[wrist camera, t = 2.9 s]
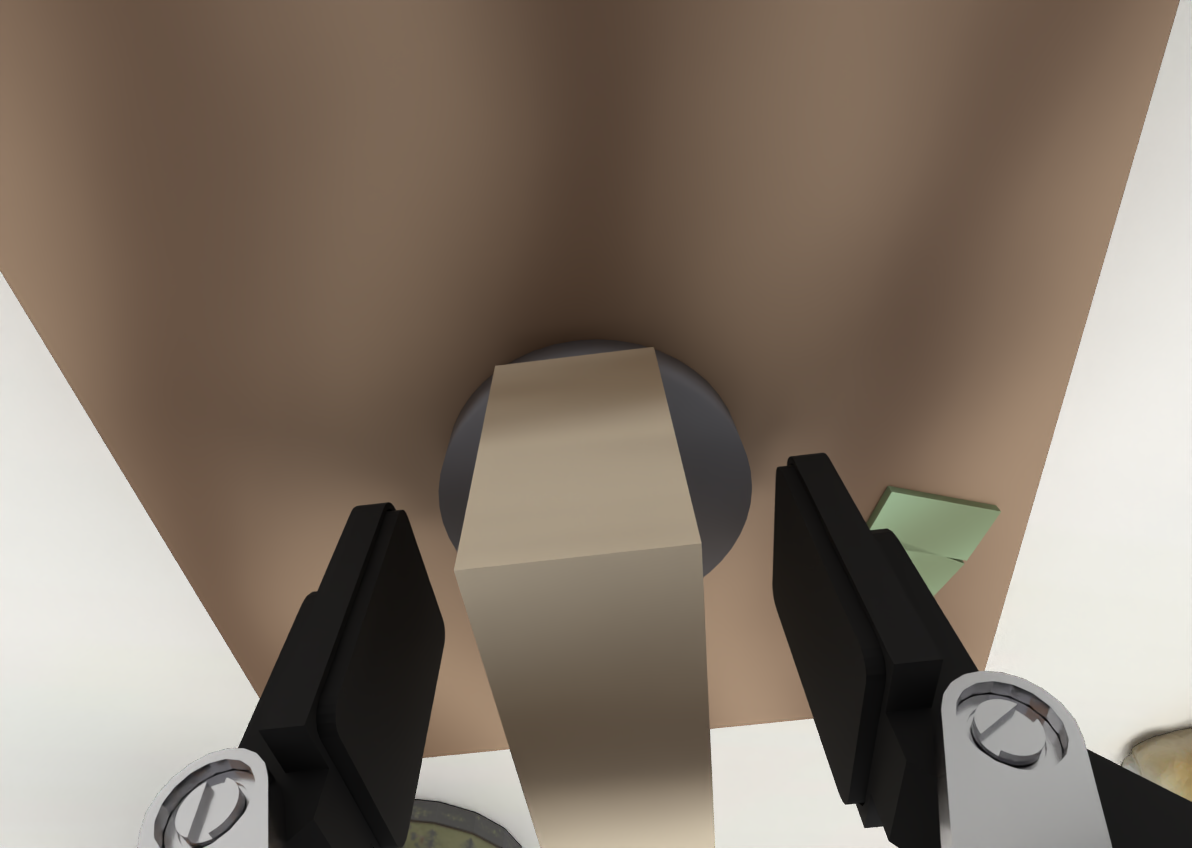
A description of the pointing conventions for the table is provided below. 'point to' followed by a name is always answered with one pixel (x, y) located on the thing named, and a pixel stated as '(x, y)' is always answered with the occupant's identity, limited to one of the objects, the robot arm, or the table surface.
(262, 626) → the wooden board
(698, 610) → the knob
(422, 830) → the thermos
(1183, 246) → the table surface
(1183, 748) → the pastry
